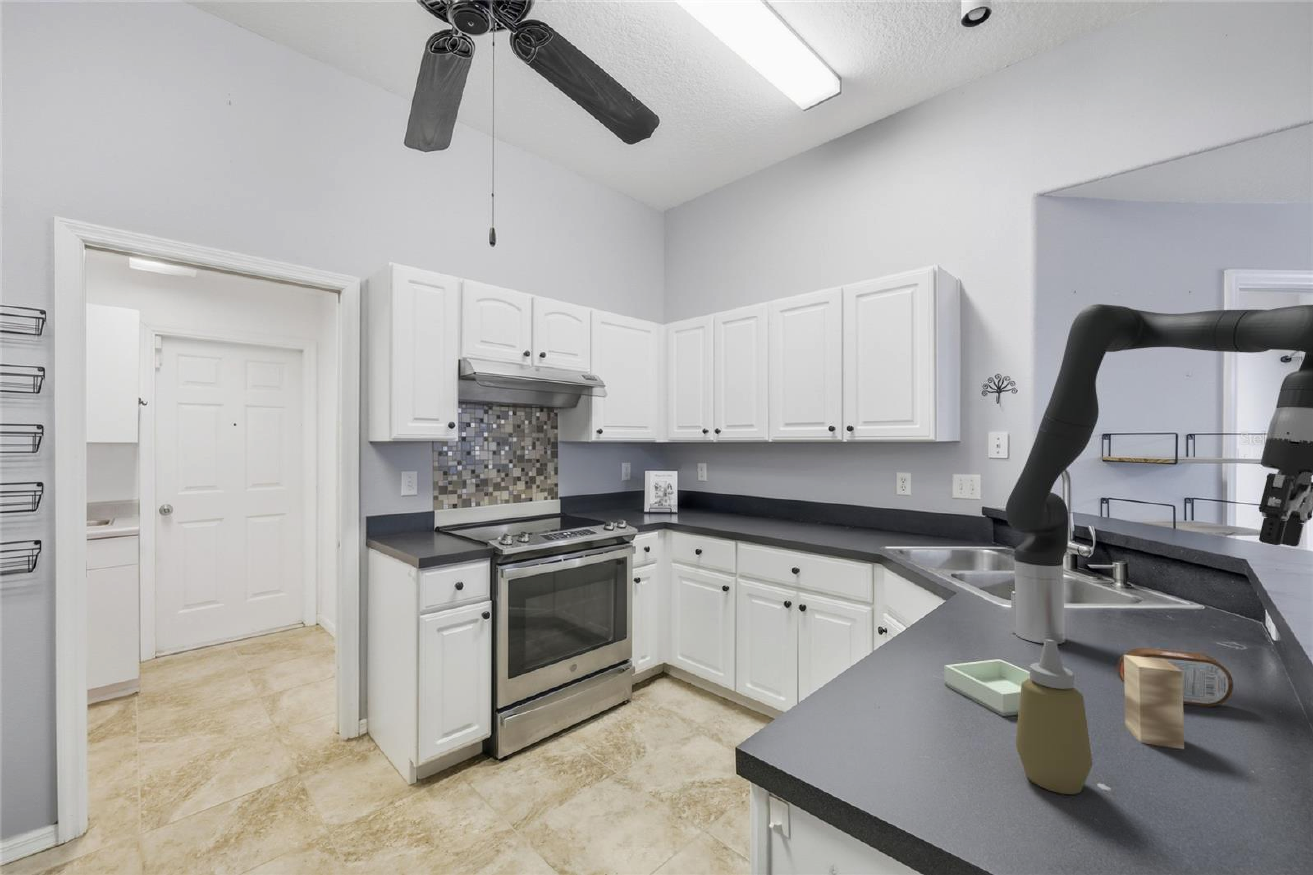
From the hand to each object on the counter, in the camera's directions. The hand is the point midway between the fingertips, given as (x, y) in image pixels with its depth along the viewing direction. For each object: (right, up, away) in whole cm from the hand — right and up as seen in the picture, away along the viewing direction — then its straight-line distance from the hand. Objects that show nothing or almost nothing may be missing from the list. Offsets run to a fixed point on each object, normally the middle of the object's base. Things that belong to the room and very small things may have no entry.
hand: (1278, 544), depth 84 cm
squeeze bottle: (-44, -28, -13) cm, 54 cm away
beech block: (-21, -28, -2) cm, 35 cm away
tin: (-7, -29, +10) cm, 31 cm away
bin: (-35, -29, +12) cm, 47 cm away
